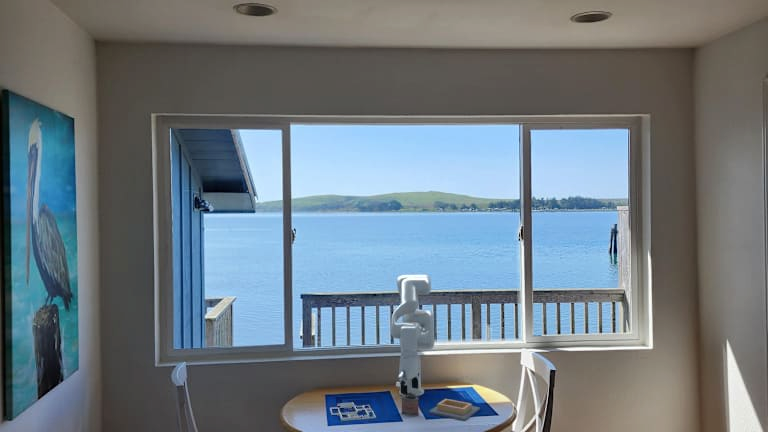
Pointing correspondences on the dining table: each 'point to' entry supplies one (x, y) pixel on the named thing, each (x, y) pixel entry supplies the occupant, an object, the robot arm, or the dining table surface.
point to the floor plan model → (355, 416)
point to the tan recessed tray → (454, 409)
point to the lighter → (410, 404)
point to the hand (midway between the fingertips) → (409, 390)
